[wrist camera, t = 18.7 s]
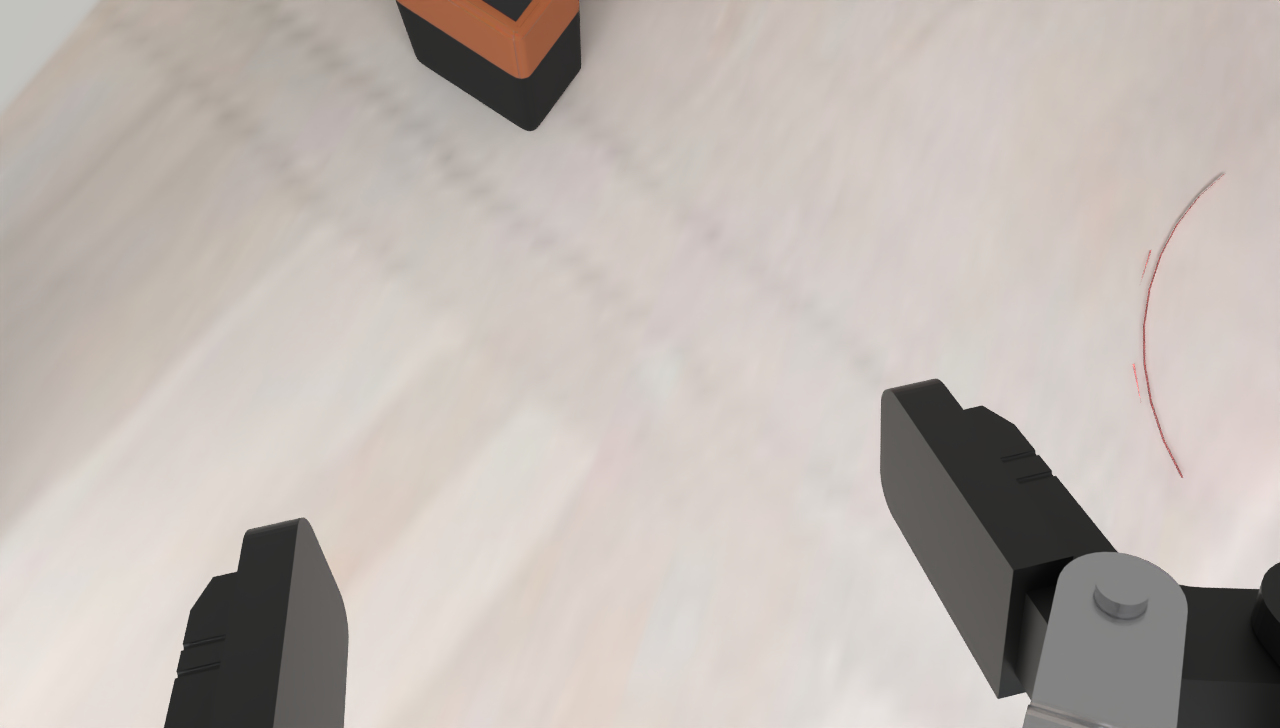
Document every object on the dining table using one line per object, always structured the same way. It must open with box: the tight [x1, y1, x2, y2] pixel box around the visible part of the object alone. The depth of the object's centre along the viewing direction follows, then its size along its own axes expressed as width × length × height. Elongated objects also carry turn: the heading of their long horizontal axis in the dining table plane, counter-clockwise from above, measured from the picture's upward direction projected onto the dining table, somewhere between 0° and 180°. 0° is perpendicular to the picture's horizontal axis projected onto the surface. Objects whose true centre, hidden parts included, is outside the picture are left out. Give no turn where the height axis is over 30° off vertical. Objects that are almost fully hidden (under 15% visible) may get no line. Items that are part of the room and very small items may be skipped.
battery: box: [396, 0, 581, 131], centre depth 43 cm, size 4×7×10 cm, turn 57°
